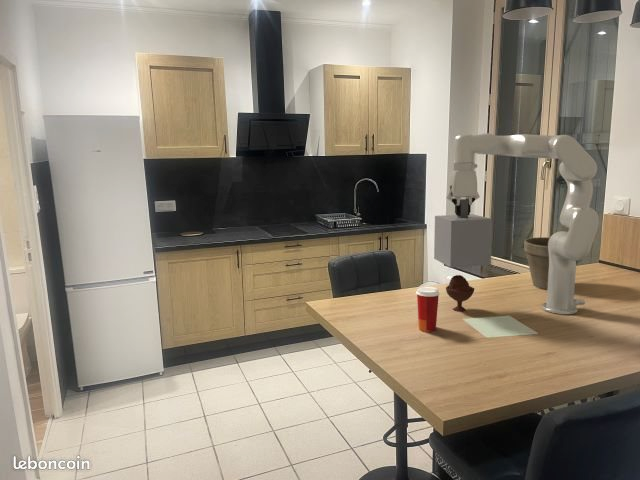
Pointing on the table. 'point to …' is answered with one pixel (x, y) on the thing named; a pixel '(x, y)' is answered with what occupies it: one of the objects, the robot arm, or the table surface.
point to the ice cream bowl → (459, 291)
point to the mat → (499, 326)
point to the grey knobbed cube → (463, 239)
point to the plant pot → (538, 260)
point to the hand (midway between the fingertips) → (462, 214)
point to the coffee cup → (427, 308)
